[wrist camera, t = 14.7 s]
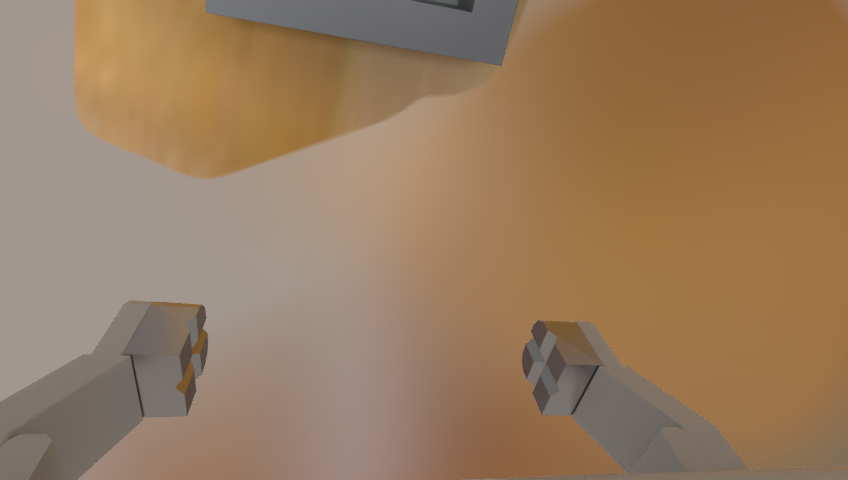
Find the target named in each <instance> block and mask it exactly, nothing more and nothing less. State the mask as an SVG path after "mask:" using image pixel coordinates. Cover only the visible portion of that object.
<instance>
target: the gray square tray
mask: <svg viewBox="0 0 848 480" xmlns="http://www.w3.org/2000/svg"><path fill="white" fill-rule="evenodd" d="M517 4H518V0H206V13H211V14H216V15H222V16H227V17H233V18H238V19H244V20H250V21H255V22H261V23H266V24H272V25H277V26H283V27H288V28H294V29H300V30H305V31H311V32H316V33H322V34H327V35H333V36H338V37H344V38H350V39H355V40H361V41H366V42H372V43H377V44H383V45H388V46H394V47H400V48H405V49H411V50H416V51H422V52H427V53H433V54H438V55H444V56H450V57H455V58H461V59H466V60H472V61H477V62H483V63H488V64H494V65H500V66H501V65H502V61H503V57H504V53H505V50H506V46H507V42H508V38H509V34H510V31H511V27H512V23H513V19H514V15H515V12H516V8H517Z"/></svg>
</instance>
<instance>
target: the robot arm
mask: <svg viewBox="0 0 848 480" xmlns="http://www.w3.org/2000/svg"><path fill="white" fill-rule="evenodd" d="M205 321H206V312H205V307H204V306H203V305H197V304H182V303H166V302H146V301H131V300H130V301H128V302H127V303H125V304H124V305H123V306H122V308H121V309H120V311H119V313H118V314H117V316H116V317H115V319H114V321H113V322H112V323H111V325H110V327H109V328H108V330H107V331H106V333H105V334H104V336H103V337H102V339H101V341H100V342H99V344H98V345H97V347H96V348H95V350H94V351H93V353H92V354H91V355H87V354H86V355H82V356H80V357H78V358H76V359H75V360H73V361H71V362H69V363H68V364H66V365H64V366H62V367H61V368H59V369H57V370H55V371H54V372H52V373H50V374H49V375H46V376H45V377H43V378H41V379H39V380H38V381H36V382H34V383H32V384H31V385H29V386H27V387H25V388H24V389H22V390H20V391H18V392H17V393H15V394H13V395H11V396H10V397H8V398H6V399H5V400H3V401H1V402H0V480H78V478H80V477H81V476H82V475H83V474H84V473H85V472H86V471H87V470H88V469H90V468H91V467H92V466H93V465H94V464H95V463H96V462H97V461H98V460H99V459H101V458H102V457H103V456H104V455H105V454H106V453H107V452H108V451H109V450H110V449H112V448H113V447H114V446H115V445H116V444H117V443H118V442H119V441H120V440H121V439H123V438H124V437H125V436H126V435H127V434H128V433H129V432H130V431H131V430H132V429H133V428H134V427H136V426H137V425H138V424H139V423H140V422H141V421H142V420H143V417H172V416H173V417H174V416H187V415H188V412H189V409H190V407H191V404H192V401H193V398H194V395H195V393H196V385H195V379H197V378H198V377H199V376H200V375H202V372H203V369H204V366H205V362H206V357H207V351H208V334H207V332H206V331H204V329H203V326H204V323H205ZM531 333H532V335H533V337H534V338H533V339H532V340H530V341H529V342H528V343H526V345H525V348H524V350H523V354H522V366H523V371H524V374H525V376H526V379H527V380H528V381H529V382H530V383H532V384H533V385H534V386H535V388H534V391H533V395H534V398H535V400H536V402H537V405H538V407H539V409H540V412H541V414H542V415H571V416H572V418H573V419H574V420H575V421H576V422H577V423H578V424H579V425H580V426H581V427H582V428H583V429H584V430H585V431H586V432H587V433H588V434H589V435H590V436H591V437H592V438H593V439H594V440H596V442H597V443H598V444H599V445H600V446H601V447H602V448H603V449H604V450H605V451H606V452H607V453H609V455H610V456H611V457H612V458H613V459H614V460H615V461H616V462H617V463H618V464H619V465H620V466H621V467H622V468H623V469H624V470H625V471H626V472H627V473H628V474H605V475H604V474H603V475H577V476H576V475H575V476H552V477H551V476H550V477H524V478H523V477H522V478H498V479H497V478H496V479H470V480H848V465H846V466H822V467H821V466H820V467H797V468H796V467H795V468H770V469H749V468H748V467H747V466H746V465H745V464H744V462H743V461H742V459H741V458H740V457H739V456H738V455H737V453H736V452H735V451H734V449H733V448H732V447H731V445H730V444H729V443H728V442H727V440H726V439H725V438H724V436H723V435H722V434H721V433H720V431H719V430H718V429H717V427H716V426H715V425H713V424H712V423H710V422H709V421H708V420H706V419H704V418H703V417H702V416H700V415H699V414H697V413H696V412H694V411H693V410H691V409H690V408H688V407H687V406H685V405H684V404H682V403H681V402H679V401H678V400H676V399H675V398H673V397H672V396H670V395H669V394H668V393H666V392H665V391H663V390H661V389H660V388H658V387H657V386H656V385H654V384H653V383H651V382H650V381H648V380H647V379H645V378H644V377H642V376H641V375H639V374H638V373H636V372H635V371H633V370H632V369H630V368H629V367H623V366H622V365H621V363H620V362H619V360H618V359H617V357H616V356H615V354H614V353H613V351H612V350H611V348H610V347H609V346H608V344H607V343H606V341H605V340H604V338H603V337H602V335H601V334H600V332H599V331H598V329H597V328H596V326H595V325H594V324H592V323H591V322H576V321H573V322H567V321H541V320H538V321H537V322H536V323H535V324H534V325H533V328H532V330H531Z"/></svg>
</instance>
